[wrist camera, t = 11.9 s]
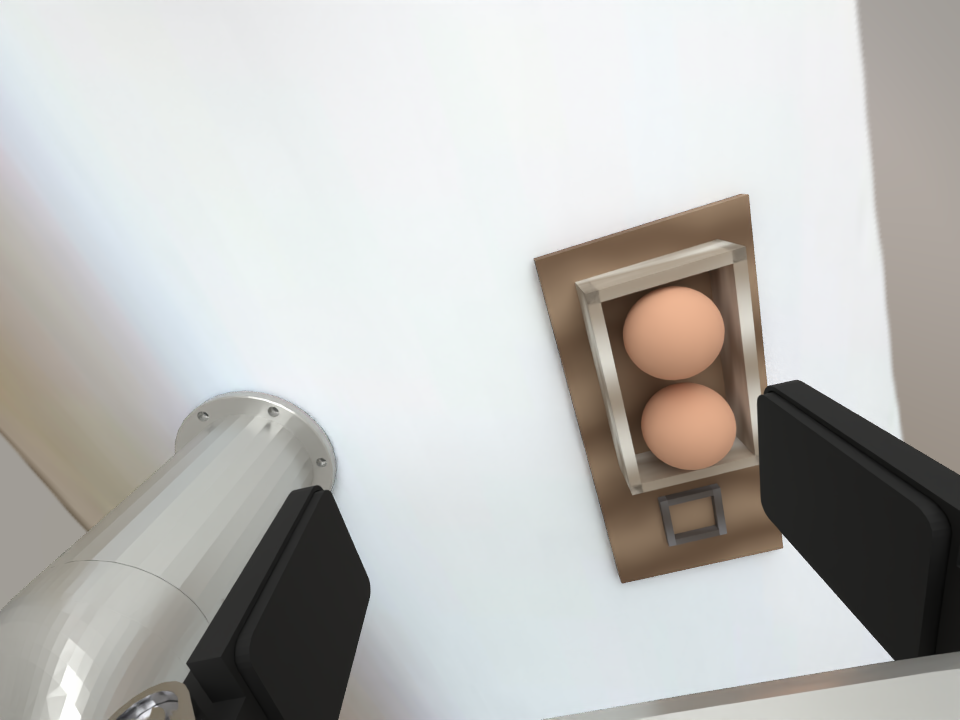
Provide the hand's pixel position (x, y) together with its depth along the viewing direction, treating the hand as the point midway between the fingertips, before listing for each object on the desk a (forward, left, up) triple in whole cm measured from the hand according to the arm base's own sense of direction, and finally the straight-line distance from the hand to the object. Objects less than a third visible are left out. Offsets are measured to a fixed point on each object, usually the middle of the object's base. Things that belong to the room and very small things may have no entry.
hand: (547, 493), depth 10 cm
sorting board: (-4, -17, -24) cm, 29 cm away
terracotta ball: (-3, -16, -20) cm, 26 cm away
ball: (+2, -11, -20) cm, 23 cm away
